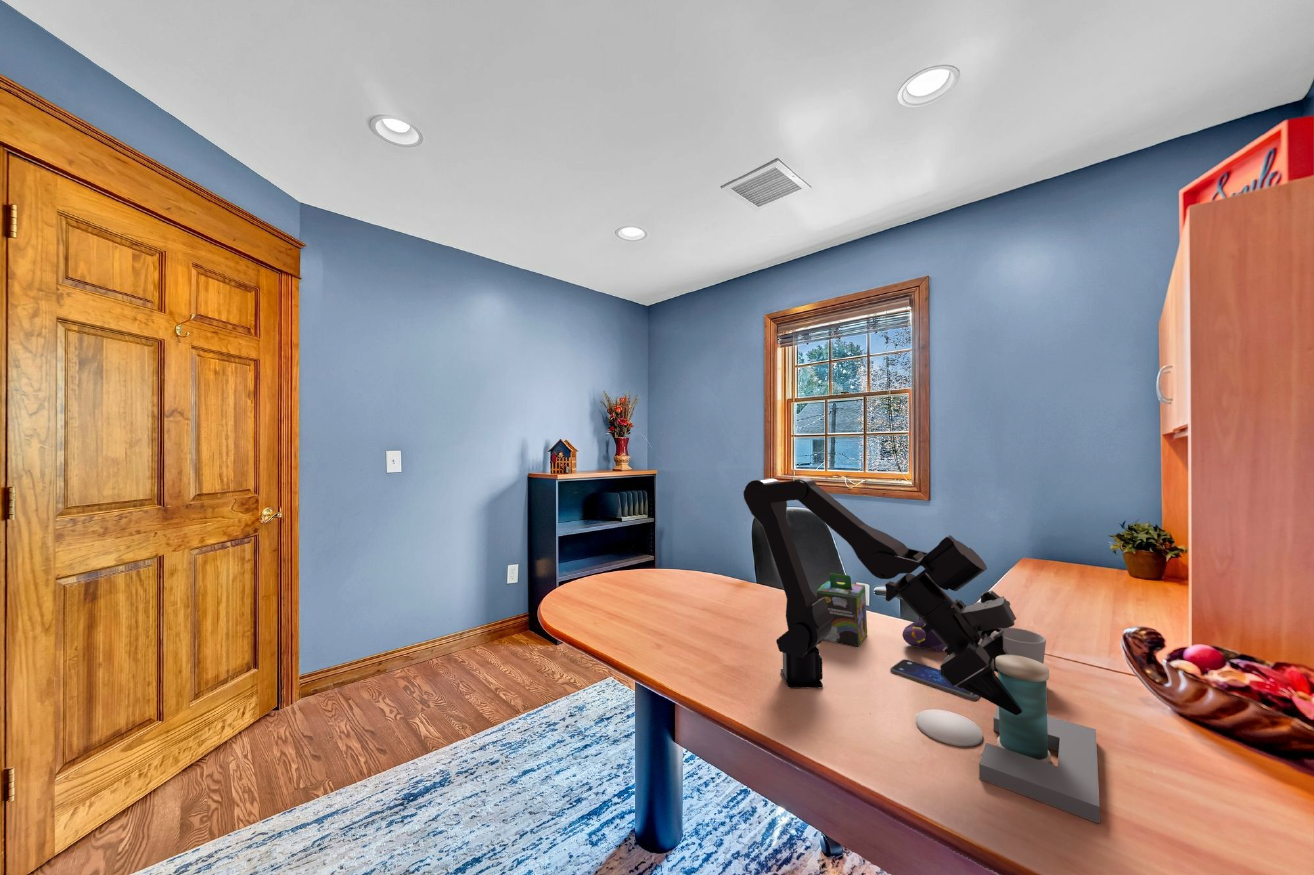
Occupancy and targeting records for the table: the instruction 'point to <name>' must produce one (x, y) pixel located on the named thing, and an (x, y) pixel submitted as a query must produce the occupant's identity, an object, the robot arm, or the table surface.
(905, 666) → the smartphone
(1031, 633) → the cup
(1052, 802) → the notched board
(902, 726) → the table surface
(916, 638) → the toy
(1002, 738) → the bobbin
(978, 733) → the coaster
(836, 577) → the chalk box
